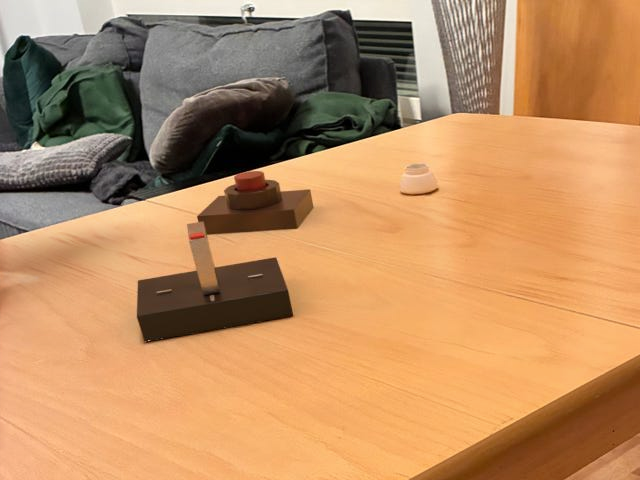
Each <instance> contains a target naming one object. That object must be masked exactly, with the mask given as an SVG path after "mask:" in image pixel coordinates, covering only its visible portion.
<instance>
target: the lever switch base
mask: <svg viewBox="0 0 640 480" xmlns="http://www.w3.org/2000/svg"><path fill="white" fill-rule="evenodd" d="M215 269H216V273H217V278H218V283H219V289H220V292H219V293H213V294H207V295H203V292H202V289H201V285H200V281H199V277H198V273H197V270H191V271H187V272H179V273H173V274H167V275H161V276H155V277H150V278H144V279H138V280H137V294H136V297H137V298H136V319H137V323H138V326H139V328H140V332H141V335H142V338H143V342H144V341H148V340H155V341H157V340H156V339H161V338H166V339H170V338H169V337H172V338H176V337H175V336H178V337H182V336H181V335H183V336H188V335H187V334H189V335H193V334H192V333H194V334H198V333H197V332H200V333H204V332H205V331H206V332H210V331H209V330H211V331H215V330H214V329H217V330H219V329H218V328H222V329H225V328H224V327H228V328H232V327H231V326H234V327H238V326H237V325H239V326H243V325H242V324H245V325H249V324H248V323H251V324H253V323H252V322H256V323H259V322H258V321H262V322H266V321H265V320H267V321H272V319H273V320H278V319H284V318H289V317H293V316H294V312H293V307H292V303H291V296H290V293H289V289H288V286H287V284H286V280H285V278H284V275H283V272H282V269H281V266H280V264H279V260H278V257H276V256H275V257H268V258H263V259H257V260H251V261H246V262H245V261H244V262H239V263H234V264H233V263H232V264H227V265H221V266H215ZM161 340H162V339H161Z"/></svg>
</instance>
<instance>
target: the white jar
mask: <svg viewBox="0 0 640 480" xmlns="http://www.w3.org/2000/svg"><path fill="white" fill-rule="evenodd" d="M429 168H430V166H429V164H428V163H424V162H423V163H421V162H420V163H412V164H408V165H406V166H404V172H403V173H402V175H401V179H400V180H399V181H400V182H399V185H398V190H399V191H400V192H402V193H403V194H406V195H413V196H414V195H415V196H417V195H423V194H428V193H431V192H433V191H435V190H436V189H438V187H439V186H440V185H439V181H438V179H437V177H436V176H435V174H434V172H433V171H432V170H431V169H429Z"/></svg>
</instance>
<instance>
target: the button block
mask: <svg viewBox="0 0 640 480" xmlns="http://www.w3.org/2000/svg"><path fill="white" fill-rule="evenodd" d="M265 181H266V186H267V187H265V188H262V189H259V190H254V191H245V192H239V191H237V188H236V184H235V183H234V184H231V185H229V186H227V187H226V188H225V189H224V190H223V195H218V196H217V197H216V198H214V200H212V202H210V203H209V204H208V205H207V206H206V207H205V208H204V209H203V210H202V211H201V212H199V214H197V216H196V219H197V222H204V225H205V229H206V233H207V236H208V235H221V234H234V233H235V234H236V233H250V232H251V233H252V232H266V231H268V232H269V231H282V230H296V229H299V228H300V226H301V225H302V224H303V222H304V221H305V220H306V218H307V217H308V216H309V214H310V213H311V212H312V211H313V209H314V208H315V207H314V202H313V201H314V200H313V196H312V191H311V189H295V190H283V191H282V190H281V186H280V183H279V182H278V181H277V180H274V179H265Z"/></svg>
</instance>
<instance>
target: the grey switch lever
mask: <svg viewBox="0 0 640 480" xmlns="http://www.w3.org/2000/svg"><path fill="white" fill-rule="evenodd" d="M186 227H187V235H188V237H187V238H188V243H189V246H190V250H191V255H192V258H193V261H194V265H195V266H194V267H195V269H196V270H195V271H197V273H198V277H199V281H200V285H201V289H202V292H203V295H207V294H213V293H219V292H220V289H219V283H218V278H217V273H216V269H215V267H216V266H215V262H214V258H213V254H212V250H211V245H210V242H209V237H208V235H207V233H206V229H205V225H204V222H198V221H197V222H192V223H191V222H190V223H186Z"/></svg>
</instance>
